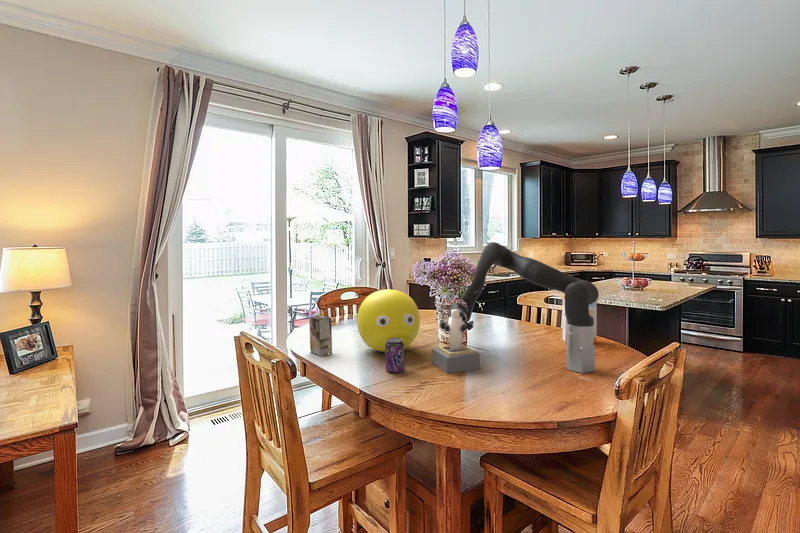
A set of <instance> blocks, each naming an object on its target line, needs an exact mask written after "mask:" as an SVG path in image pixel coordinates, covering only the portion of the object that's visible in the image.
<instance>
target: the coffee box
mask: <svg viewBox="0 0 800 533" xmlns="http://www.w3.org/2000/svg"><path fill="white" fill-rule="evenodd" d="M308 321H309V325H308V326H309V345H310V346H309V347H310V351H311V352H313V353H312V354H314V353H316V354H318V355H317V356H319V355H324V354H328V353H332V354H333V336H332V335H333V334H332V333H333V332H332V317H329V316H326V315H321V314H319V315H313V316H309V317H308ZM311 352H310V353H311ZM316 354H315V355H316ZM328 355H329V354H328ZM324 356H325V355H324Z"/></svg>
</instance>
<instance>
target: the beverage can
mask: <svg viewBox="0 0 800 533" xmlns="http://www.w3.org/2000/svg"><path fill="white" fill-rule="evenodd" d="M386 341H387V342H386V344H385V352H384V354H385V355H384V356H385V359H384V360H385V371H387V372H389V373H391V372H398V373H401V372H403V371H404V370H405V348H404V344H403V342H402V341H403V340H402V339H400V338H389V339H387V340H386Z"/></svg>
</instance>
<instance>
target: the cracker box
mask: <svg viewBox="0 0 800 533" xmlns="http://www.w3.org/2000/svg"><path fill="white" fill-rule="evenodd" d="M597 302H598V299H597V300H596V301H595V302H594V303H592V304H590V305H589V314H590V316H592V317H593V319H594V331H593V344H597V319H598V318H597V316H598V315H597V311H598V310H597V306H598V305H597V304H598V303H597ZM562 341H563V343H565V344H567V318H566V315H565V297H562Z"/></svg>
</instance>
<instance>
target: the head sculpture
mask: <svg viewBox="0 0 800 533" xmlns="http://www.w3.org/2000/svg"><path fill="white" fill-rule="evenodd" d="M356 321H357V330H358V333H359V335H360V337H361V339H362V341H363V342H364V344H366V345H367V346H368V347H369V348H371V349H373V350H375V351H378V352H382V353H385V344H386V342H387V341H386V340H387V339H389V338H400V339H402V340H403V341H402V342H403V344H404V349H407V348H408V347H409V346H411V344H412V343H413V342H414V340H416V337H417V336H418V334H419V330H420V327H421V325H420V324H421V318H420V312H419V308H418V306H417V304H416V302H415V301H414V299H413V298H411V296H409V294H407V293H405V292H403V291H400V290H397V289H390V288H389V289H387V288H386V289H380V290H378V291H377V290H376V291H375V292H372V293H370V294H369V295H367V296H366V297H365V299H364V300H363V301H362V303H361V304H360V306H359V309H358V312H357V320H356Z"/></svg>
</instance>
